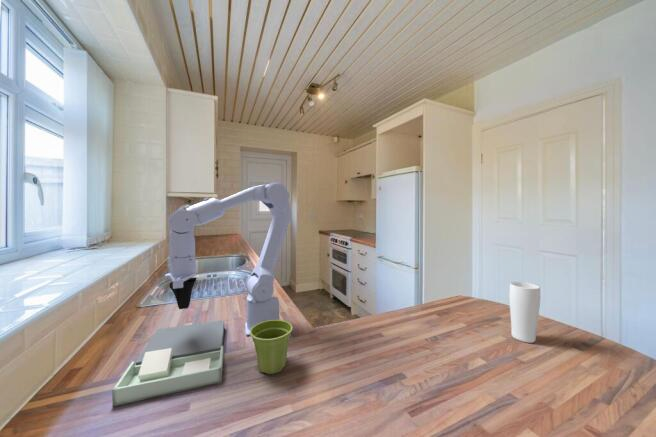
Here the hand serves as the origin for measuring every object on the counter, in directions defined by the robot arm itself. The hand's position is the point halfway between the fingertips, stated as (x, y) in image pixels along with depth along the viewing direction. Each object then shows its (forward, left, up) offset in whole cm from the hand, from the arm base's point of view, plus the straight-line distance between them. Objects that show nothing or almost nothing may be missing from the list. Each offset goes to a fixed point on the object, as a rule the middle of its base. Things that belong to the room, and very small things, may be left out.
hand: (184, 307), depth 64 cm
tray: (-1, +14, -10) cm, 17 cm away
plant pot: (-20, +17, -10) cm, 28 cm away
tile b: (+3, +11, -8) cm, 14 cm away
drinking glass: (-87, +29, -10) cm, 92 cm away
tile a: (-5, +15, -8) cm, 18 cm away
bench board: (-1, +1, -10) cm, 10 cm away
